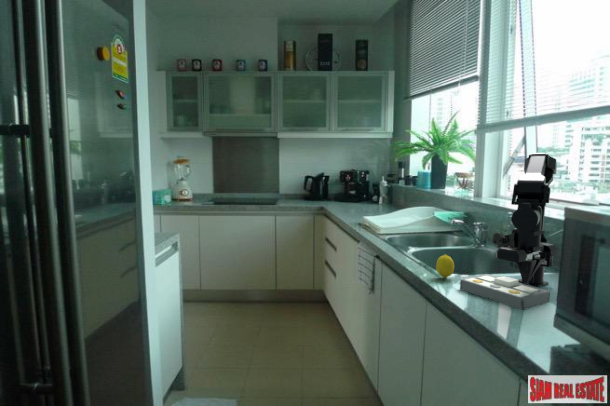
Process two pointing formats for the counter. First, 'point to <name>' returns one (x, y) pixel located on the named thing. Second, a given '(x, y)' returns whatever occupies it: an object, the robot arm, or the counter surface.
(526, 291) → the button
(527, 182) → the robot arm
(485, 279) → the button
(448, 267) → the lemon
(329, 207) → the counter surface
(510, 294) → the board
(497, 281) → the button
